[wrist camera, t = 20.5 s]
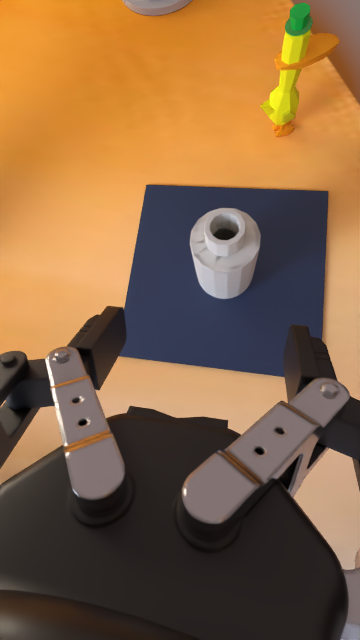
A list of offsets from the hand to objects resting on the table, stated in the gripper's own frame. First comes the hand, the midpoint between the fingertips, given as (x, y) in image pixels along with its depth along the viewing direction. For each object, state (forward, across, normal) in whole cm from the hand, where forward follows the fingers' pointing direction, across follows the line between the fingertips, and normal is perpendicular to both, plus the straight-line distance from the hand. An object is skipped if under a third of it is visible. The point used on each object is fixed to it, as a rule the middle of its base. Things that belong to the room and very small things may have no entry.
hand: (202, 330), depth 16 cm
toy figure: (+32, -5, -8) cm, 33 cm away
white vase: (+18, 0, +5) cm, 19 cm away
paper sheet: (+19, 0, +5) cm, 19 cm away
